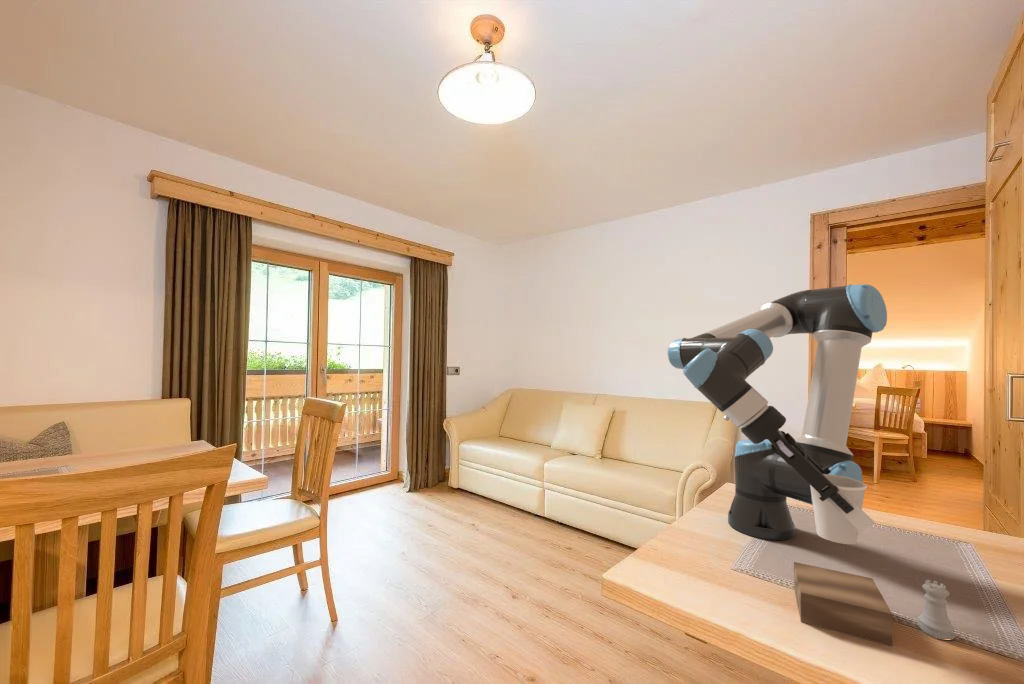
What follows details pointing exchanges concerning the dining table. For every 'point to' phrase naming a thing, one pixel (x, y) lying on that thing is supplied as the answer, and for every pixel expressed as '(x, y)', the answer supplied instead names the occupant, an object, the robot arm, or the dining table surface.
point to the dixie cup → (830, 518)
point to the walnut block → (842, 603)
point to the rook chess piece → (936, 612)
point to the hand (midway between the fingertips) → (860, 517)
